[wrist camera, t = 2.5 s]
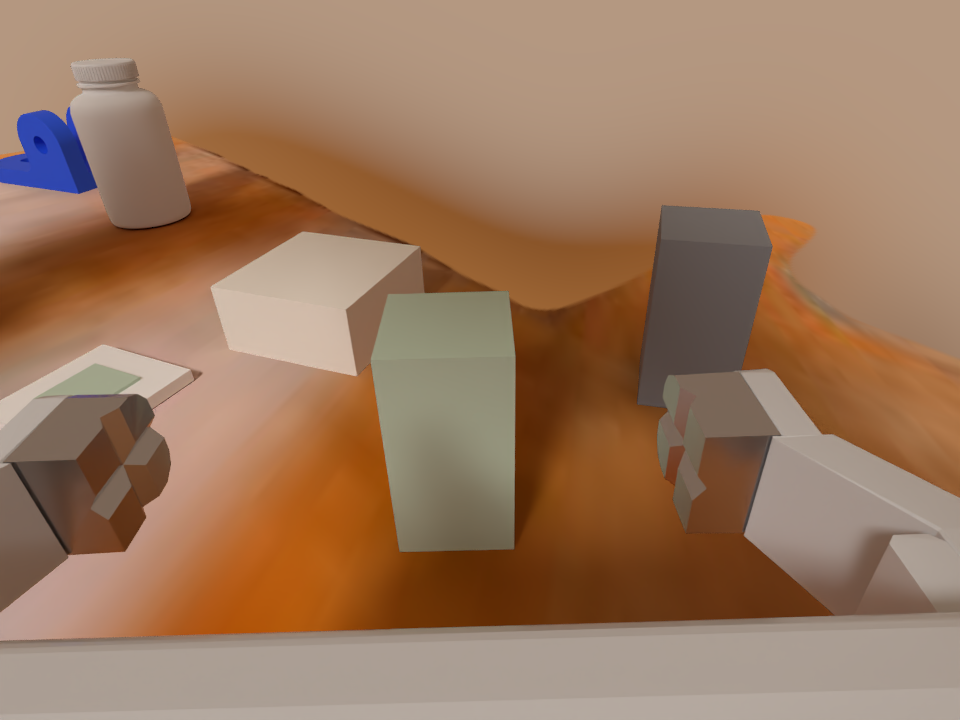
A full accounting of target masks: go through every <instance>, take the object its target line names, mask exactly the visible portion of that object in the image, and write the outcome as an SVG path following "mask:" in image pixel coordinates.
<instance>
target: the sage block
mask: <svg viewBox="0 0 960 720" xmlns="http://www.w3.org/2000/svg"><path fill="white" fill-rule="evenodd" d="M371 367H372V373H373V380H374V386H375V393H376V400H377V406H378V413H379V419H380V426H381V433H382V439H383V446H384V452H385V459H386V466H387V472H388V479H389V485H390V492H391V499H392V505H393V512H394V518H395V525H396V532H397V538H398V545H399V551H400V552H422V551H464V550H505V549H514V511H515V347H514V338H513V328H512V319H511V309H510V300H509V291H488V292H452V293H416V294H388V296H387V300H386V304H385V308H384V311H383V315H382V319H381V323H380V326H379V330H378V334H377V338H376V341H375V345H374V349H373V353H372V357H371Z"/></svg>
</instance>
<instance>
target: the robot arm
mask: <svg viewBox="0 0 960 720" xmlns="http://www.w3.org/2000/svg"><path fill="white" fill-rule="evenodd" d="M663 399H664V402H665V404H666V406H667V409H668V412H667V413H666V414H665V415H664V416H663V417H662V418H661V419H660V420H659V424H658V433H657V448H658V457H659V462H660V467H661V469H662V472H663V475H664V478H665V479H666V480H668V481H669V482H670V483H672V484H673V485H674V486H675V489H674V495H673V502H674V504H675V507H676V510H677V512H678V515H679V517H680V520H681V523H682V525H683V528H684V530H685V533H686V534H692V533H745V534H744V536H745V537H746V538H747V539H748V540H749V541H750V542H752V543H753V544H754V545H755V546H756V547H757V548H758V549H760V550H761V551H762V552H763V553H764V554H765V555H766V556H768V557H769V558H770V559H771V560H772V561H773V562H774V563H776V564H777V565H778V566H779V567H780V568H781V569H782V570H784V571H785V572H786V573H787V574H788V575H789V576H790V577H792V578H793V579H794V580H795V581H796V582H797V583H798V584H800V585H801V586H802V587H803V588H804V589H805V590H806V591H808V592H809V593H810V594H811V595H812V596H813V597H814V598H816V599H817V600H818V601H819V602H820V603H821V604H822V605H824V606H825V607H826V608H827V609H828V610H829V611H830V612H832V613H833V614H834V615H835V616H814V617H780V618H747V619H715V620H683V621H650V622H616V623H581V624H546V625H511V626H477V627H442V628H408V629H375V630H342V631H309V632H275V633H242V634H209V635H176V636H142V637H109V638H75V639H42V640H9V641H0V720H960V498H958V497H956V496H955V495H953V494H951V493H949V492H947V491H945V490H943V489H941V488H939V487H937V486H935V485H933V484H931V483H929V482H927V481H925V480H923V479H921V478H919V477H917V476H915V475H913V474H911V473H909V472H907V471H905V470H903V469H901V468H899V467H897V466H895V465H893V464H891V463H889V462H887V461H885V460H883V459H881V458H879V457H877V456H875V455H873V454H871V453H869V452H867V451H865V450H863V449H861V448H859V447H857V446H855V445H853V444H851V443H849V442H847V441H845V440H843V439H841V438H839V437H837V436H835V435H833V434H830V435H822V434H821V432H820V431H819V430H818V429H817V427H816V426H815V425H814V423H813V422H812V421H811V419H810V418H809V417H808V416H807V414H806V413H805V412H804V410H803V409H802V408H801V406H800V405H799V404H798V402H797V401H796V400H795V399H794V397H793V396H792V395H791V393H790V392H789V391H788V389H787V388H786V387H785V386H784V384H783V383H782V382H781V380H780V379H779V378H778V376H777V375H776V374H775V373H774V372H773V371H771V370H769V369H757V370H742V371H734V372H719V373H700V374H680V375H668V377H667V379H666V382H665V385H664V391H663ZM154 416H155V415H154V413H153V411H152V409H151V407H150V404H149V402H148V400H147V399H146V398H144V397H142V396H140V395H138V394H100V395H74V396H73V395H57V396H43V397H39V398H35V399H33V400H31V401H30V402H29V403H28V404H27V405H26V406H25V407H24V408H23V409H22V410H21V411H20V412H19V413H18V414H17V415H16V416H14V417H13V418H12V419H11V420H10V421H9V422H8V423H7V424H6V425H5V426H4V427H3V428H2V429H1V430H0V612H1V611H3V610H4V609H5V608H6V607H8V606H9V605H10V604H11V603H13V602H14V601H15V600H16V599H18V598H19V597H20V596H21V595H23V594H24V593H25V592H26V591H28V590H29V589H30V588H31V587H33V586H34V585H35V584H36V583H38V582H39V581H40V580H41V579H43V578H44V577H45V576H46V575H48V574H49V573H50V572H51V571H53V570H54V569H55V568H56V567H58V566H59V565H60V564H61V563H63V562H64V561H65V560H66V559H68V555H77V554H93V553H110V552H125V551H126V549H127V548H128V546H129V545H130V543H131V541H132V540H133V538H134V536H135V535H136V533H137V532H138V530H139V528H140V527H141V525H142V524H143V522H144V520H145V519H146V515H145V512H144V508H143V507H144V506H145V505H146V504H148V503H149V502H151V501H152V500H154V499H155V498H157V497H158V496H160V494H161V492H162V490H163V489H164V487H165V485H166V483H167V482H168V477H169V471H170V466H171V461H170V453H169V449H168V446H167V444H166V441H165V439H164V437H163V436H161V435H160V434H159V433H157V432H156V431H155V430H153V429H152V428H151V427H150V425H151V423H152V421H153V419H154Z"/></svg>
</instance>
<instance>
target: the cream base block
mask: <svg viewBox="0 0 960 720" xmlns="http://www.w3.org/2000/svg"><path fill="white" fill-rule="evenodd" d="M211 291H212V294H213V297H214V300H215V304H216V307H217V310H218V314H219V317H220V320H221V323H222V327H223V330H224V333H225V337H226V340H227V343H228V347H229V350H234V351H239V352H244V353H248V354H253V355H258V356H263V357H267V358H272V359H277V360H282V361H286V362H291V363H296V364H301V365H305V366H310V367H315V368H320V369H324V370H329V371H334V372H339V373H343V374H348V375H353V376H358V375H359V374H360V373H361V372H362V371H363V370H364V369H365V368H366V367H367V366H368V365H369V364H370V362H371V357H372V353H373V349H374V345H375V341H376V338H377V334H378V330H379V326H380V323H381V319H382V315H383V311H384V308H385V304H386V300H387V296H388V294H416V293H424V282H423V271H422V259H421V248H420V246H414V245H406V244H398V243H390V242H382V241H374V240H366V239H358V238H350V237H342V236H335V235H327V234H319V233H311V232H301V233H299V234H298V235H296V236H294V237H293V238H291V239H289V240H288V241H286V242H284V243H283V244H281V245H279V246H278V247H276V248H274V249H273V250H271V251H269V252H268V253H266V254H264V255H263V256H261V257H259V258H258V259H256V260H254V261H253V262H251V263H249V264H248V265H246V266H244V267H243V268H241V269H239V270H238V271H236V272H234V273H233V274H231V275H229V276H228V277H226V278H224V279H222V280H221V281H219V282H217V283H216V284H214V285H212V286H211Z"/></svg>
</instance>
